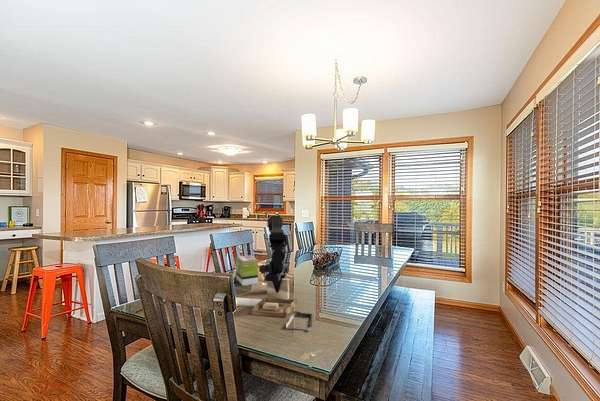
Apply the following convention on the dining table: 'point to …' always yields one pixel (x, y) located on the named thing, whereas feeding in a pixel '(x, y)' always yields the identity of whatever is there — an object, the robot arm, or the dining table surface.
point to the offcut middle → (271, 309)
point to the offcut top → (270, 306)
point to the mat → (248, 301)
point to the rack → (270, 313)
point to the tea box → (247, 270)
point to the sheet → (282, 292)
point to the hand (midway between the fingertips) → (278, 291)
